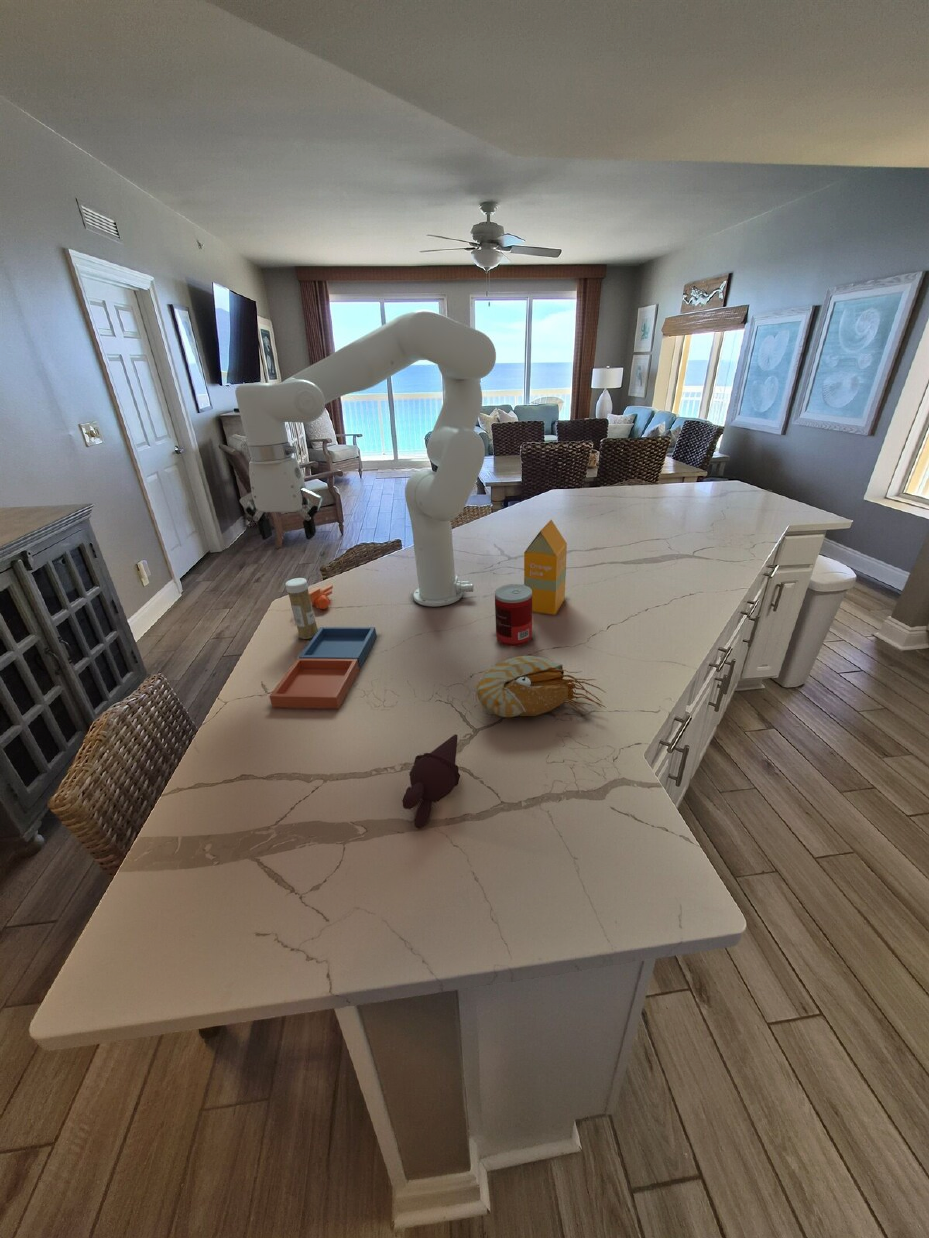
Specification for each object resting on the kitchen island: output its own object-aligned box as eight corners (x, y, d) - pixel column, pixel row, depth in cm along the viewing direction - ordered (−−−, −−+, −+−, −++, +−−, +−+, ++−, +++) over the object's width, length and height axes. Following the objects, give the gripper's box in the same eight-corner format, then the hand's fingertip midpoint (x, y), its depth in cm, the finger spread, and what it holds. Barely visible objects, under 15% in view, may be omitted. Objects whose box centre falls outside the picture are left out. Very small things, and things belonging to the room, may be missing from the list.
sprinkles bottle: (321, 635, 113) (309, 581, 107) (302, 642, 111) (288, 587, 104) (315, 628, 116) (302, 575, 110) (296, 634, 114) (282, 580, 108)
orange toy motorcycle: (323, 576, 129) (287, 594, 120) (345, 589, 127) (310, 608, 118) (322, 591, 132) (287, 610, 123) (343, 604, 130) (309, 624, 121)
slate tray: (376, 636, 111) (375, 626, 110) (360, 668, 100) (358, 657, 99) (323, 636, 112) (320, 626, 111) (300, 667, 101) (298, 657, 100)
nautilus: (609, 695, 88) (595, 756, 76) (494, 669, 95) (465, 721, 83) (615, 659, 84) (601, 718, 72) (495, 635, 91) (464, 685, 79)
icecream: (427, 717, 75) (377, 796, 64) (470, 717, 71) (424, 801, 60) (443, 750, 78) (397, 832, 67) (484, 752, 74) (444, 839, 63)
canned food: (535, 630, 109) (535, 585, 104) (527, 649, 102) (527, 601, 97) (501, 627, 111) (500, 582, 106) (491, 645, 105) (490, 598, 99)
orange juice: (565, 599, 122) (568, 520, 112) (555, 614, 115) (558, 532, 105) (534, 594, 125) (535, 517, 115) (523, 610, 118) (523, 529, 108)
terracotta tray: (359, 669, 100) (357, 658, 98) (338, 708, 88) (336, 697, 87) (300, 668, 101) (297, 658, 100) (272, 707, 90) (269, 696, 89)
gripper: (320, 448, 98) (334, 531, 106) (238, 451, 101) (259, 532, 109) (304, 455, 92) (321, 543, 100) (218, 458, 94) (241, 543, 102)
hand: (289, 537), depth 104 cm, fingers open, 9 cm apart
